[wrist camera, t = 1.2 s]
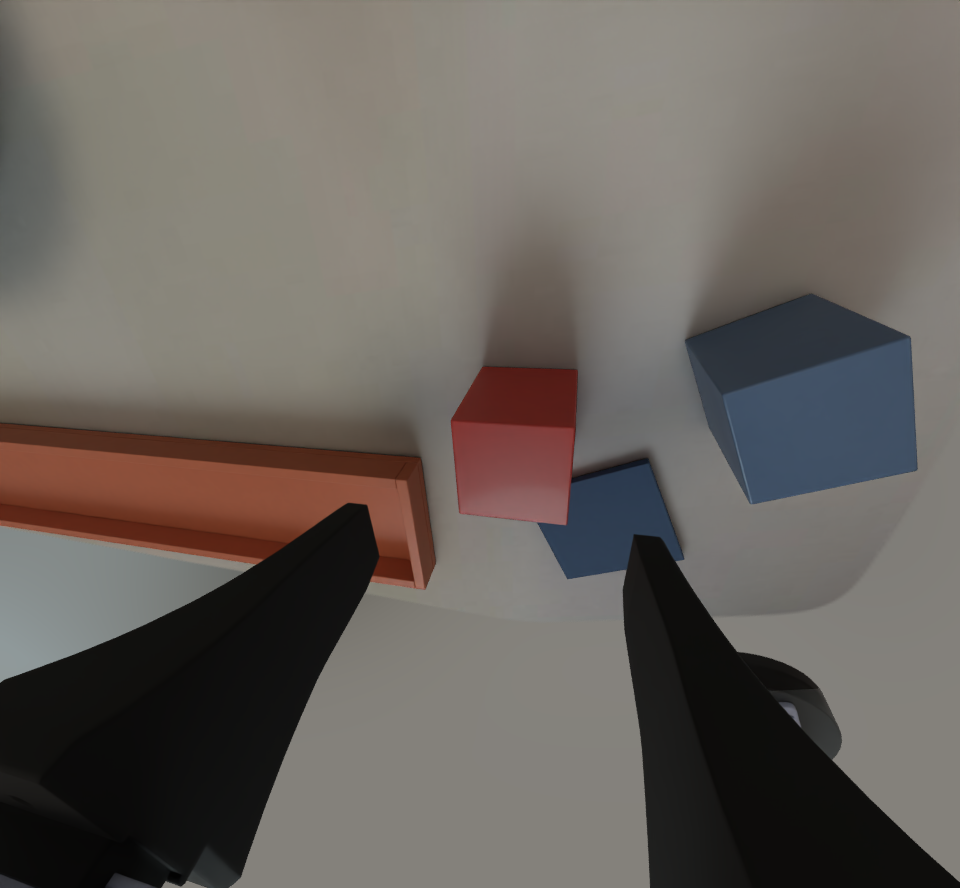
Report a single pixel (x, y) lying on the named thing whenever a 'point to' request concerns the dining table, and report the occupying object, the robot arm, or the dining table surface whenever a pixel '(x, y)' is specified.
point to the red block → (516, 444)
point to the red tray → (210, 495)
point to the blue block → (807, 398)
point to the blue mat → (610, 520)
